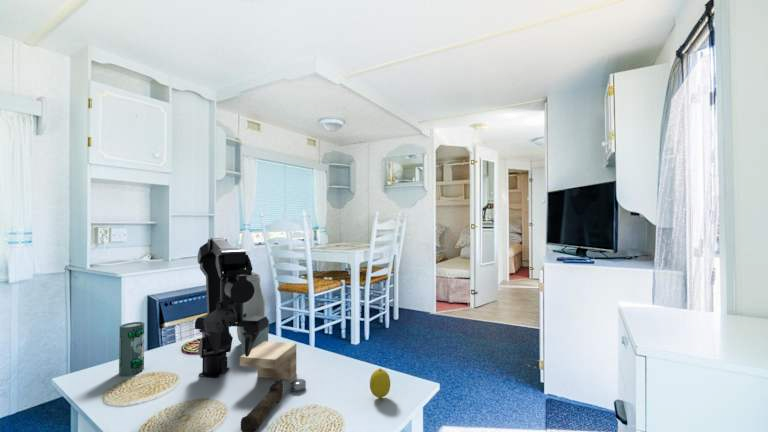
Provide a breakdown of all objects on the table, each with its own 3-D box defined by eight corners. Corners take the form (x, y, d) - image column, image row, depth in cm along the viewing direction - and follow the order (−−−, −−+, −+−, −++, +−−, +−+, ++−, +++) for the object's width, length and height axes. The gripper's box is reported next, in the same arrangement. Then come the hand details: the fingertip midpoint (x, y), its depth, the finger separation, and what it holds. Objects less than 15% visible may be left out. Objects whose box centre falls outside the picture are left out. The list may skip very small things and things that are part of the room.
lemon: (383, 406, 87) (383, 374, 87) (365, 400, 90) (365, 370, 90) (394, 396, 92) (394, 367, 92) (377, 391, 95) (377, 362, 95)
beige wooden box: (239, 390, 96) (239, 356, 96) (264, 371, 108) (264, 341, 109) (275, 394, 94) (275, 359, 94) (296, 373, 106) (296, 343, 106)
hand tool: (256, 436, 75) (256, 414, 76) (239, 434, 76) (239, 413, 76) (292, 394, 94) (292, 377, 94) (278, 393, 95) (278, 376, 95)
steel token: (289, 394, 94) (289, 387, 94) (290, 386, 98) (289, 379, 98) (305, 392, 95) (305, 385, 95) (305, 385, 99) (305, 378, 99)
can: (139, 374, 107) (140, 326, 107) (116, 377, 105) (117, 328, 105) (145, 366, 113) (146, 321, 113) (123, 369, 110) (124, 323, 111)
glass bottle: (254, 337, 141) (254, 270, 141) (269, 342, 135) (269, 272, 135) (231, 344, 133) (231, 273, 133) (246, 350, 127) (246, 275, 127)
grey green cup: (263, 360, 117) (263, 325, 117) (234, 360, 117) (234, 325, 118) (273, 349, 127) (273, 317, 128) (246, 349, 127) (246, 317, 128)
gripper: (178, 301, 85) (178, 364, 85) (245, 304, 81) (245, 370, 81) (209, 293, 96) (209, 348, 96) (269, 295, 92) (269, 352, 92)
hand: (231, 354), depth 91 cm, fingers open, 9 cm apart
